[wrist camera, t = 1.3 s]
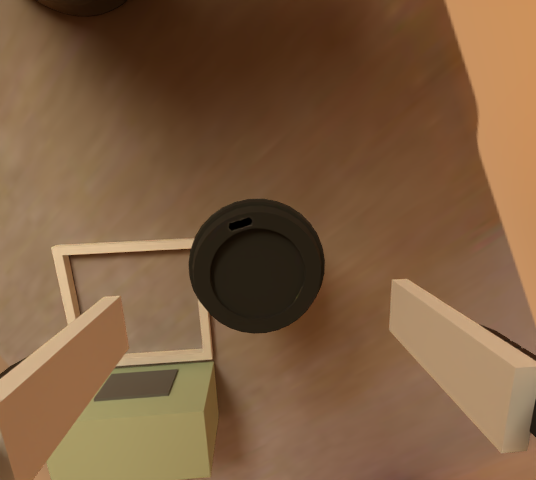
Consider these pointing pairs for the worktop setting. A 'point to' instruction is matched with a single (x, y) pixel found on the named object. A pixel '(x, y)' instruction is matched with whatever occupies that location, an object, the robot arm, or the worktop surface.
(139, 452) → the green block with frame
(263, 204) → the coffee cup
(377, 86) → the worktop surface
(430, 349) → the robot arm
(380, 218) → the worktop surface
